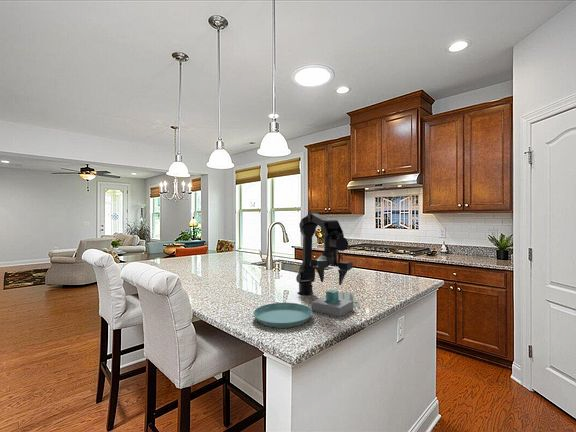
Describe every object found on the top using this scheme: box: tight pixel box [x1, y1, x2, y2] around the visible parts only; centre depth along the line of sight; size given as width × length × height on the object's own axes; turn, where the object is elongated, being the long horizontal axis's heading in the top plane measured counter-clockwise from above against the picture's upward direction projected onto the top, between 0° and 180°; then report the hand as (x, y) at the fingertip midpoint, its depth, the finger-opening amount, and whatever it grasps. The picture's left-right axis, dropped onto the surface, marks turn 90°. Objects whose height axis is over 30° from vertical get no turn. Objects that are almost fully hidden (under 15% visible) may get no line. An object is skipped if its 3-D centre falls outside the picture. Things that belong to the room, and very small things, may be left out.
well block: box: [311, 295, 354, 318], centre depth 132 cm, size 14×12×4 cm
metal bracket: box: [338, 291, 361, 309], centre depth 143 cm, size 14×6×15 cm
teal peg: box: [325, 289, 339, 304], centre depth 132 cm, size 4×4×8 cm
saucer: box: [253, 302, 314, 329], centre depth 123 cm, size 24×24×3 cm
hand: (331, 283), depth 133 cm, fingers open, 9 cm apart
